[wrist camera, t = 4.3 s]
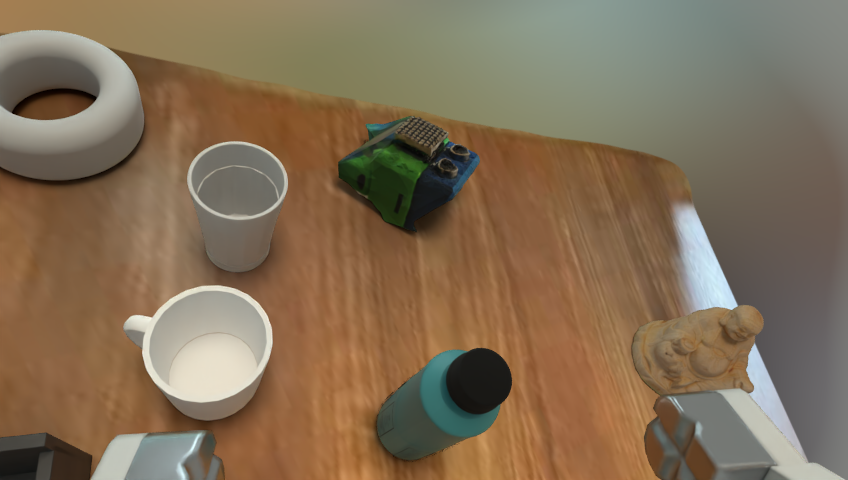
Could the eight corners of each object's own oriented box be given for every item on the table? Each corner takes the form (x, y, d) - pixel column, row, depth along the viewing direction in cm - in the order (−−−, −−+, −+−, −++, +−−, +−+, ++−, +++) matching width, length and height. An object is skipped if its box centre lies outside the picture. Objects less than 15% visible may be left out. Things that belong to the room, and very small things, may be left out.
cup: (264, 204, 56) (271, 135, 46) (288, 267, 53) (300, 208, 43) (187, 220, 52) (176, 149, 42) (208, 289, 50) (202, 229, 40)
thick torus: (147, 183, 53) (137, 143, 47) (-36, 188, 47) (-72, 143, 42) (144, 75, 59) (135, 28, 53) (-18, 68, 53) (-47, 15, 48)
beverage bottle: (413, 478, 47) (510, 452, 31) (356, 436, 48) (421, 388, 31) (446, 418, 51) (548, 366, 35) (392, 379, 51) (468, 308, 35)
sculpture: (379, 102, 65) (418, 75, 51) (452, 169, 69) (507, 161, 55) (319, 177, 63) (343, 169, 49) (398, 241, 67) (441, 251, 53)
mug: (279, 343, 49) (289, 305, 41) (244, 438, 45) (246, 417, 36) (164, 309, 48) (149, 261, 39) (115, 404, 43) (85, 373, 34)
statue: (791, 304, 59) (818, 368, 52) (701, 365, 68) (712, 428, 60) (703, 252, 59) (716, 308, 51) (624, 320, 68) (625, 377, 60)
